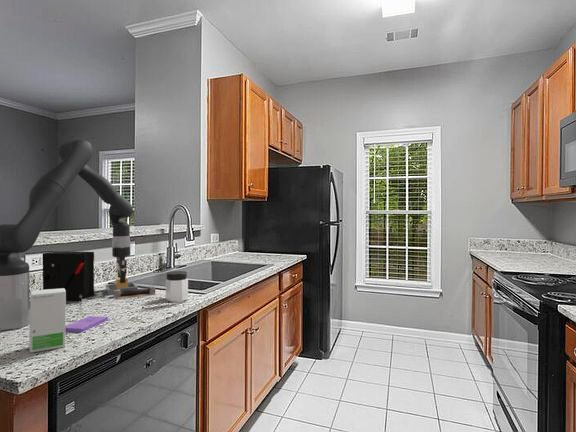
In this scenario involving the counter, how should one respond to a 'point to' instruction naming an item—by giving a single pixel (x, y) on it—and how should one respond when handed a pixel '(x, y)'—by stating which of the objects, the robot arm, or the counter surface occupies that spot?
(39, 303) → the skincare box
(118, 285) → the orange block
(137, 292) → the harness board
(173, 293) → the jar
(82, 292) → the electrical component
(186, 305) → the counter surface
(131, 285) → the tray
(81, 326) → the sponges
